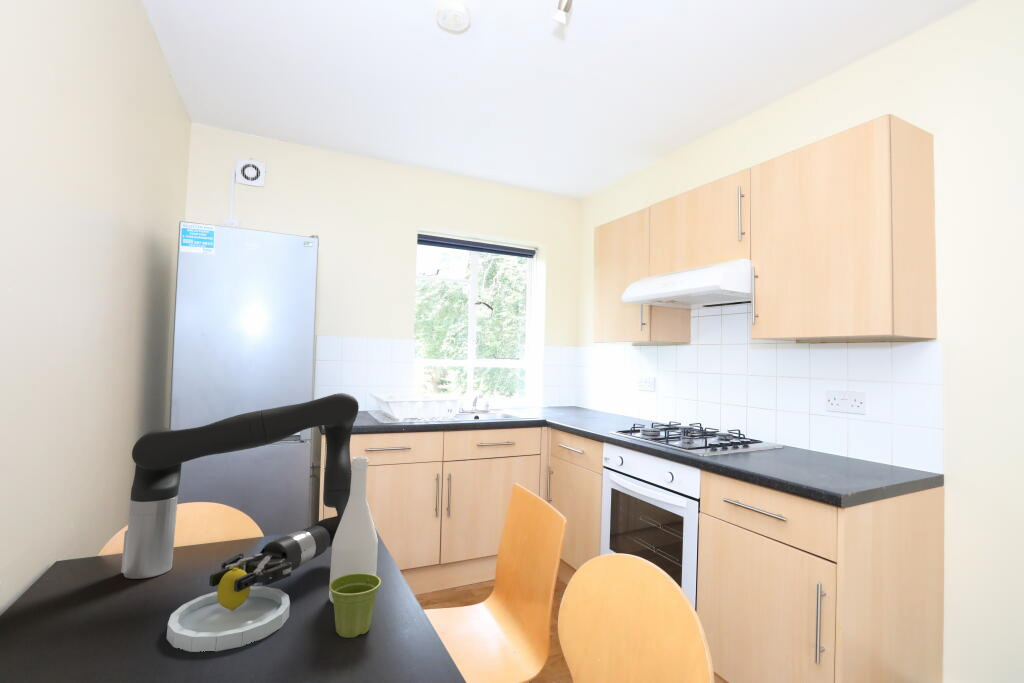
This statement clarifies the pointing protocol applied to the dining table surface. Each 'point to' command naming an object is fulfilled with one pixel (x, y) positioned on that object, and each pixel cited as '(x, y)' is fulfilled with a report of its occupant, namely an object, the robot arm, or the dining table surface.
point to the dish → (227, 621)
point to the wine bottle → (355, 530)
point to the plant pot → (354, 602)
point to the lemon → (231, 590)
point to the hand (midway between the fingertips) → (223, 583)
